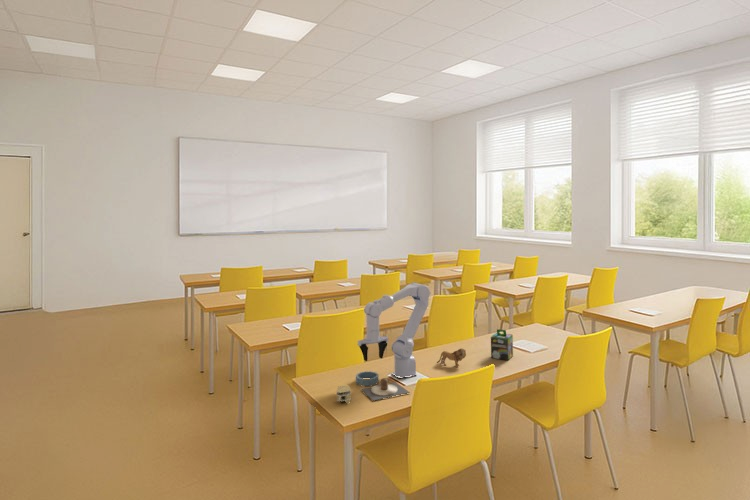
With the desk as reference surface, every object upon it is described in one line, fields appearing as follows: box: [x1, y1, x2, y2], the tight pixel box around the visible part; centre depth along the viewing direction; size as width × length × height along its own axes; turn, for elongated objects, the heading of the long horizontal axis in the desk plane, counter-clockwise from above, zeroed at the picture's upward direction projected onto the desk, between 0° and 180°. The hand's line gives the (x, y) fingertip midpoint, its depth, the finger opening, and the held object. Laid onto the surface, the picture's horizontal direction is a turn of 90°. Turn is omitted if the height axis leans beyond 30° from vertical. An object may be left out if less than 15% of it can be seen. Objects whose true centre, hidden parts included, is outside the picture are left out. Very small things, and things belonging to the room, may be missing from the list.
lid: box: [371, 377, 398, 396], centre depth 194 cm, size 11×11×5 cm
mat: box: [360, 382, 411, 402], centre depth 194 cm, size 17×13×1 cm
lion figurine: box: [436, 347, 467, 368], centre depth 226 cm, size 15×5×9 cm, turn 68°
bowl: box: [355, 370, 380, 387], centre depth 206 cm, size 10×10×3 cm
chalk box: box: [490, 328, 514, 361], centre depth 236 cm, size 9×9×15 cm
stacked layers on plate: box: [336, 385, 352, 404], centre depth 186 cm, size 10×9×6 cm
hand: (373, 359), depth 206 cm, fingers open, 7 cm apart
